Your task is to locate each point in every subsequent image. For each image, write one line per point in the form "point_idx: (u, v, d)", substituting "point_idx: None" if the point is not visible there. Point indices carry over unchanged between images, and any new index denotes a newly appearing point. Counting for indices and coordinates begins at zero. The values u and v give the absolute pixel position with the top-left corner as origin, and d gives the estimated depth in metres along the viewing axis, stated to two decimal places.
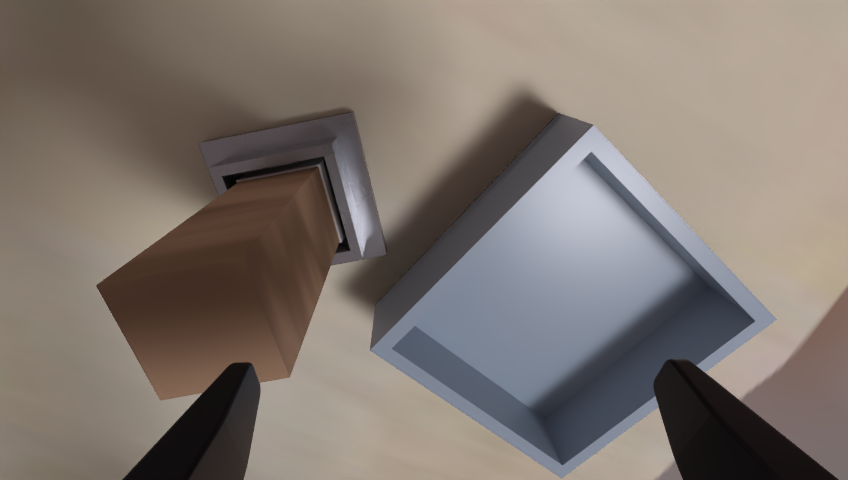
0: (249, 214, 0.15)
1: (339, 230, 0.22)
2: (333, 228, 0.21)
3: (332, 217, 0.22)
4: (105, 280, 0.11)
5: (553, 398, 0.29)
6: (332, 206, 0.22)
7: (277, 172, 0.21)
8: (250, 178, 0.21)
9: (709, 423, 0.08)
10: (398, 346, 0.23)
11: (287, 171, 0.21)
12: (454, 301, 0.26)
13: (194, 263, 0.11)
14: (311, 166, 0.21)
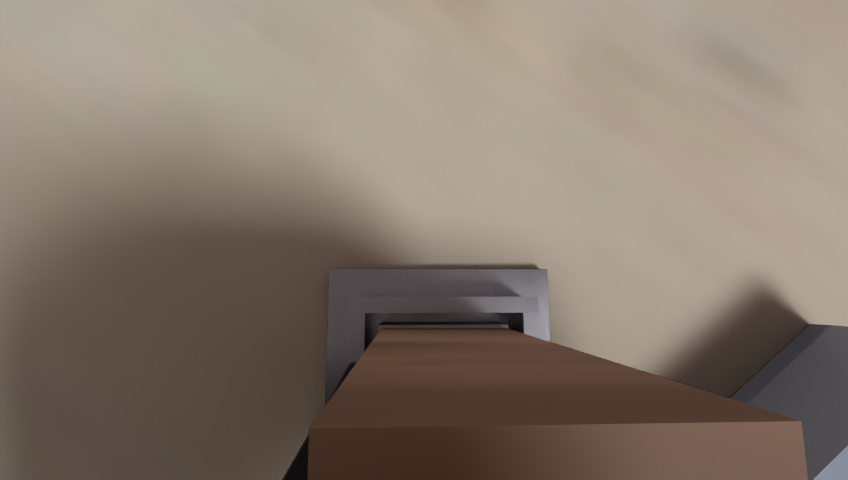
0: (518, 354, 0.07)
1: None
2: None
3: None
4: (326, 419, 0.04)
5: None
6: None
7: (442, 325, 0.14)
8: (400, 326, 0.14)
9: None
10: None
11: (457, 327, 0.14)
12: None
13: (614, 415, 0.04)
14: (495, 325, 0.14)
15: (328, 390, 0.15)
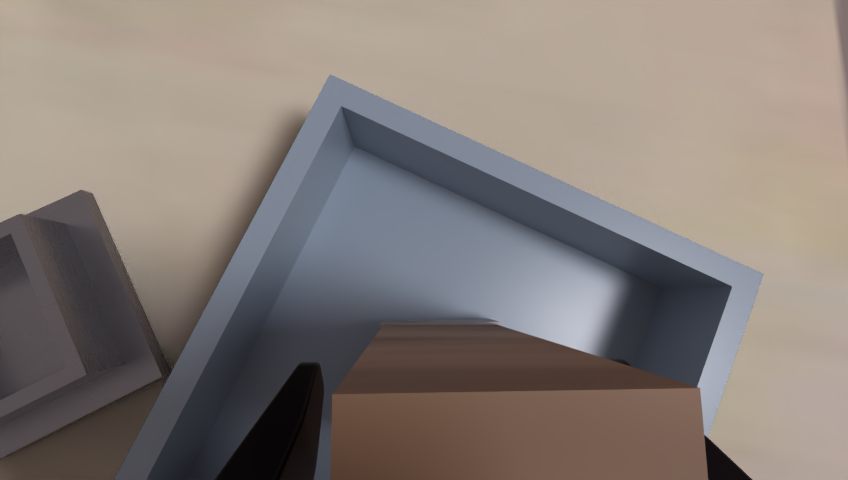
0: (502, 345, 0.09)
1: None
2: None
3: None
4: (344, 389, 0.05)
5: None
6: None
7: (438, 322, 0.15)
8: (400, 323, 0.15)
9: None
10: None
11: (452, 323, 0.15)
12: None
13: (562, 385, 0.05)
14: (487, 322, 0.15)
15: None
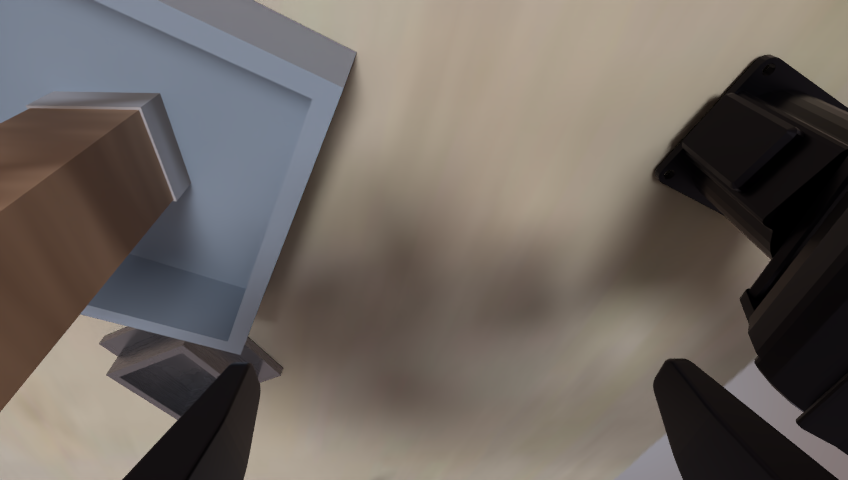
0: None
1: (126, 105, 0.16)
2: (106, 114, 0.16)
3: (99, 110, 0.16)
4: None
5: None
6: (90, 105, 0.16)
7: None
8: None
9: (709, 423, 0.08)
10: None
11: None
12: (205, 243, 0.22)
13: None
14: None
15: None
